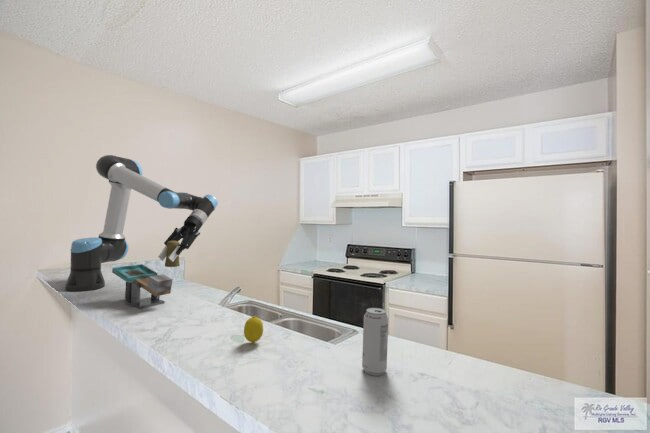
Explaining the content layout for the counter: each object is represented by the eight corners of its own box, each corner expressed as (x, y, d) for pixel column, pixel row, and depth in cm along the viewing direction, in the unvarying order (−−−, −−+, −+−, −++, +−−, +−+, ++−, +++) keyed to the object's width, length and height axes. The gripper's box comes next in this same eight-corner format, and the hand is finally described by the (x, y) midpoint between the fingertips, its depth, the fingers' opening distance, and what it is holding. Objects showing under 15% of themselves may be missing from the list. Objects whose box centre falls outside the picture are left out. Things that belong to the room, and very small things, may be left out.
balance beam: (140, 272, 142) (143, 257, 141) (176, 294, 128) (179, 278, 127) (111, 276, 132) (113, 260, 131) (147, 300, 118) (149, 283, 117)
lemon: (246, 348, 90) (246, 320, 90) (241, 341, 95) (242, 314, 95) (265, 345, 92) (266, 317, 92) (259, 338, 97) (260, 312, 97)
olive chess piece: (182, 265, 143) (183, 240, 143) (174, 267, 137) (175, 241, 137) (169, 264, 143) (170, 239, 143) (161, 266, 137) (162, 240, 137)
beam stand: (142, 296, 139) (142, 276, 139) (164, 303, 131) (165, 281, 131) (117, 301, 131) (118, 279, 131) (139, 309, 122) (140, 285, 122)
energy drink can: (367, 363, 83) (369, 305, 83) (389, 369, 80) (391, 309, 80) (358, 372, 78) (360, 311, 78) (381, 379, 75) (383, 315, 75)
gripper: (176, 214, 152) (144, 251, 137) (207, 215, 146) (177, 255, 131) (184, 225, 157) (154, 262, 142) (214, 227, 151) (186, 266, 136)
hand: (165, 259), depth 136 cm, fingers closed on olive chess piece, 5 cm apart
